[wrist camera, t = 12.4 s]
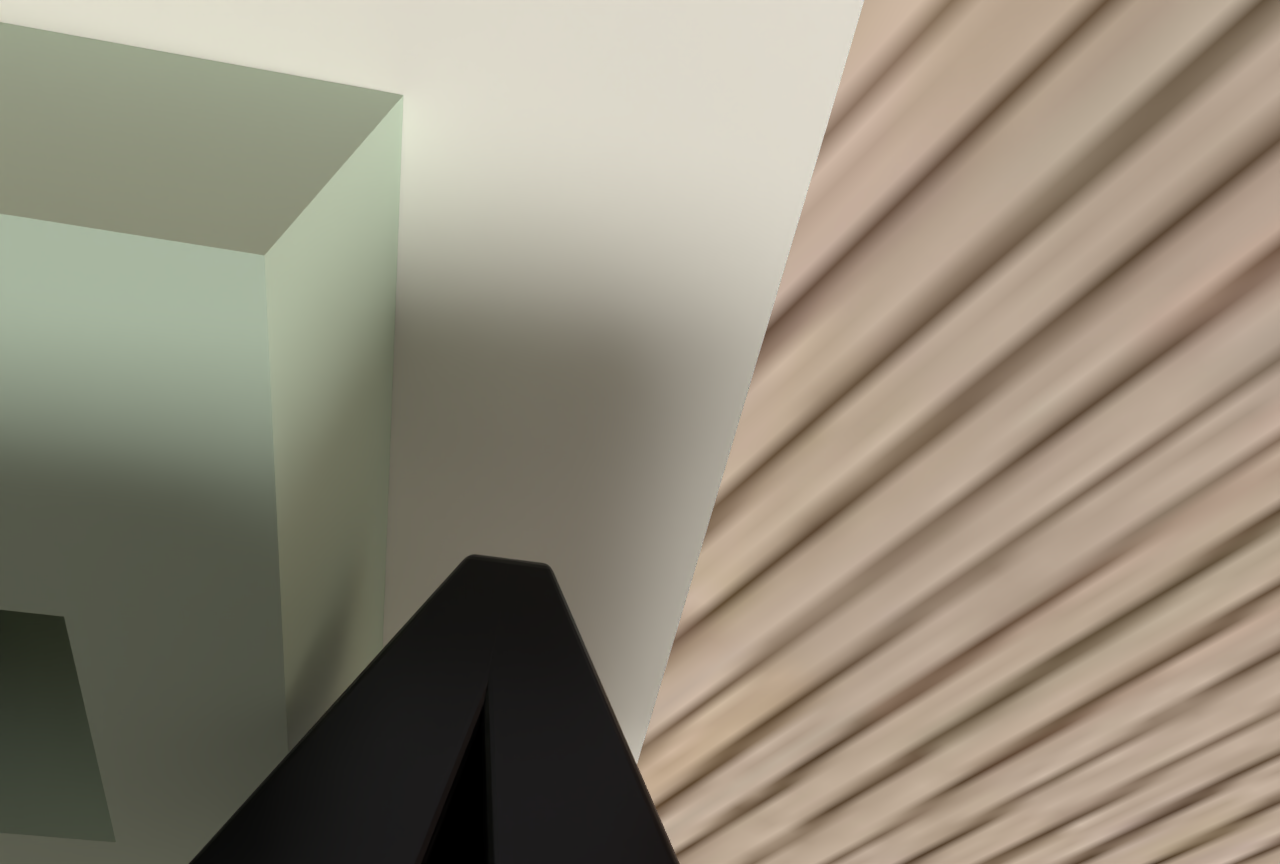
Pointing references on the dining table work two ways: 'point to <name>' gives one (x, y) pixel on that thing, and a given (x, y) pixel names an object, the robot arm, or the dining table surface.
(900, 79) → the dining table surface
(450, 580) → the robot arm
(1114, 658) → the dining table surface
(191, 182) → the panel
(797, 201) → the board
